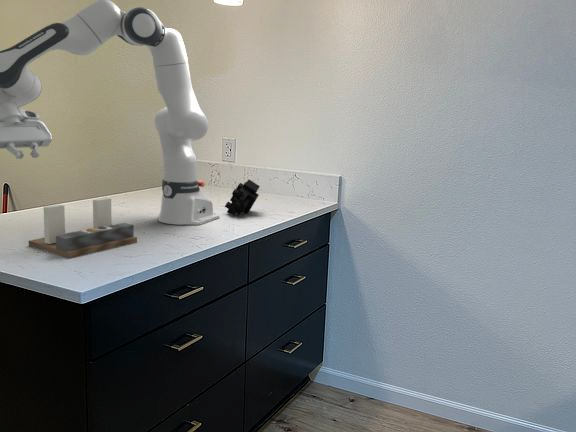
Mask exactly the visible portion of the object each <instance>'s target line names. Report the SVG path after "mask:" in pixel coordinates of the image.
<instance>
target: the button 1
mask: <svg viewBox="0 0 576 432" xmlns="http://www.w3.org/2000/svg"><path fill="white" fill-rule="evenodd" d="M65 220H66V216H65V205H62V204H54V205H46V206H43V225H44V226H43V229H44V232H43V234H44V238H45V243H47V244H52V243H56V236H59V235H64V234H66V221H65Z"/></svg>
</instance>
